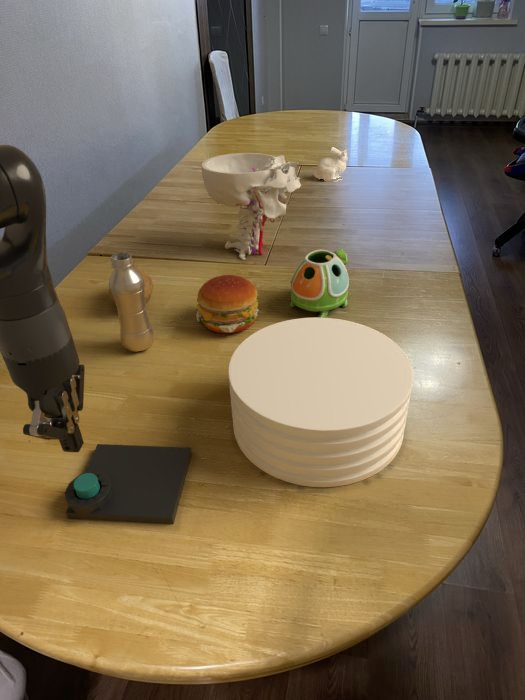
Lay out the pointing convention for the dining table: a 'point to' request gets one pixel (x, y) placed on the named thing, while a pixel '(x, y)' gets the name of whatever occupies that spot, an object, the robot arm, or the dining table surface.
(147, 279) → the potato
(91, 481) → the button
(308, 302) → the turtle holder
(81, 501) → the scale
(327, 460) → the plate stack
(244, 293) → the burger
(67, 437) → the robot arm
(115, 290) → the plastic bottle
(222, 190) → the skull
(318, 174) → the rabbit
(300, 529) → the dining table surface
